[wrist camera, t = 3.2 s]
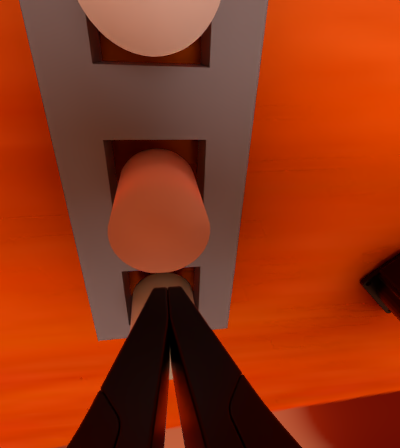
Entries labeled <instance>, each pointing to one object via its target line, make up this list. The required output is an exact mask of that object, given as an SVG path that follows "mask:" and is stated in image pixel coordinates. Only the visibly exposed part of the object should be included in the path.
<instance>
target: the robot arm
mask: <svg viewBox="0 0 400 448" xmlns="http://www.w3.org/2000/svg"><path fill="white" fill-rule="evenodd" d="M361 285H362V286H363V287H364V288H365V289H366V290H367V291H368V293H369V294H370V295H371V296H372V297H373V298H374V299H375V301H376V302H377V303H378V304H379V305H380V306H381V307H382V309H383V310H384V311H385V312H386V313H391V312H392V313H393V314H394V315H395V316H396V317H397V318H398V320H399V321H400V254H399V255H398V256H396V257H395V258H393V259H392V260H390V261H389V262H387V263H386V264H384V265H383V266H381V267H380V268H378V269H377V270H375V271H374V272H372V273H371V274H369V275H368V276H366V277H365V278H363V279H362V280H361ZM170 360H171V368H172V374H173V380H174V386H175V392H176V398H177V404H178V409H179V415H180V421H181V427H182V433H183V439H184V445H185V448H302V447H301V446H300V445H299V444H298V443H297V441H296V440H295V439H294V438H293V437H292V436H291V435H290V433H289V432H288V431H287V430H286V429H285V428H284V427H283V426H282V424H281V423H280V422H279V421H278V420H277V418H276V417H275V416H274V415H273V413H272V412H271V411H270V410H269V409H268V407H267V406H266V405H265V404H264V402H263V401H262V400H261V398H260V397H259V396H258V394H257V393H256V392H255V390H254V389H253V388H252V386H251V385H250V383H249V382H248V380H247V379H246V378H245V376H244V375H241V374H242V372H241V371H240V369H239V368H238V366H237V365H236V364H235V362H234V361H233V359H232V358H231V356H230V355H229V354H228V352H227V351H226V349H225V348H224V346H223V345H222V344H221V342H220V341H219V339H218V338H217V336H216V335H215V334H214V332H213V331H212V329H211V328H210V326H209V325H208V324H207V322H206V321H205V319H204V318H203V316H202V315H201V314H200V312H199V311H198V309H197V308H196V306H195V305H194V304H193V302H192V301H191V299H190V298H189V296H188V295H187V294H186V292H185V291H184V289H183V288H182V287H181V286H170V287H168V289H167V288H166V287H155V288H153V289H152V291H151V293H150V295H149V297H148V299H147V301H146V302H145V304H144V306H143V308H142V310H141V312H140V314H139V316H138V318H137V320H136V322H135V323H134V325H133V327H132V329H131V331H130V333H129V335H128V337H127V339H126V341H125V342H124V344H123V346H122V348H121V350H120V352H119V354H118V356H117V358H116V360H115V362H114V363H113V365H112V367H111V369H110V371H109V373H108V375H107V377H106V379H105V381H104V382H103V384H102V386H101V390H100V391H99V392H98V394H97V396H96V397H95V399H94V401H93V403H92V405H91V407H90V409H89V410H88V412H87V414H86V416H85V418H84V419H83V421H82V423H81V425H80V427H79V428H78V430H77V432H76V433H75V435H74V436H73V438H72V440H71V441H70V443H69V444H68V446H67V448H164V441H165V428H166V414H167V400H168V386H169V372H170Z"/></svg>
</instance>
